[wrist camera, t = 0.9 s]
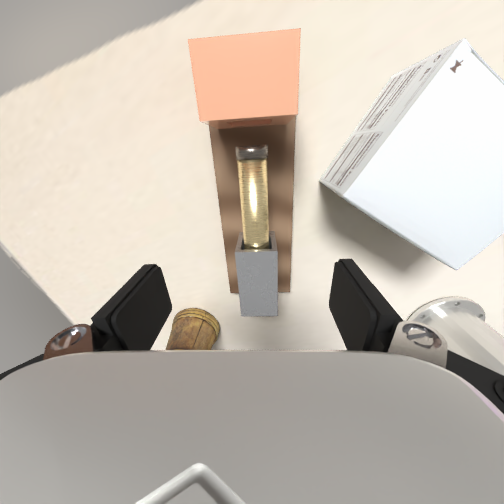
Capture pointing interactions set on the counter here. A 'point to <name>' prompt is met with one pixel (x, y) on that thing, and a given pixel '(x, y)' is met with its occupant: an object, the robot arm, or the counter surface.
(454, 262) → the supplement box
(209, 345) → the wooden mug
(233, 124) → the socket block
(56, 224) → the counter surface
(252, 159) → the tube
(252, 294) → the sleeve
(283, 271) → the base board
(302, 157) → the counter surface
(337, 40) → the counter surface
